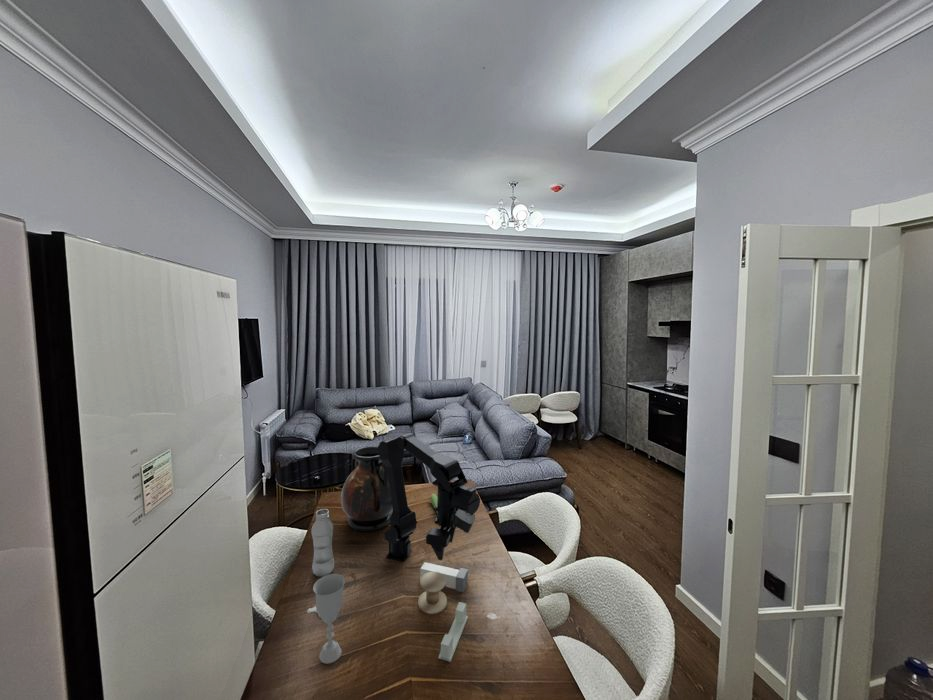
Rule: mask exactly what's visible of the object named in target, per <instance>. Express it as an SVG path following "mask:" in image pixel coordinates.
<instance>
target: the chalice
mask: <svg viewBox="0 0 933 700" xmlns="http://www.w3.org/2000/svg"><path fill="white" fill-rule="evenodd" d="M345 583H346V577H344V576H343V575H342V574H339V573H330V574H328V575H326V576H323V577H319V578H318V580H316V581H315V583H314V584H313V586H312V587H313V588H312V589H313V592H314V594H315V605H316V610H317V612H318V613H317V612H316V613H317V615H318V614H319V615H318V617H319V616H320V617H319V618H321V620H322V622H323V623H325V624H327V627H326V631H327V634H326V635H325V636H326V639H327V641H326V642H325V643H324V645H323V646H322V648H321V650H320V653H319V654H318V655H319V656H318V659H319V661H320V662H321V663H323V664H332V663H335V662H337V660H338V659H339V658H340V657H341V656H342V652H343V651H342V648H341V647H340V645H339V642H338V641H336V640H334V639H333V638H334V636H335V632H333V629H334V628H335V627H334V625H333V623H334V622H335V621H336V619H337V618H338V615H339V613H340V610H341V609H342V607H343V601H344V585H345Z"/></svg>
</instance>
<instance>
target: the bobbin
mask: <svg viewBox="0 0 933 700" xmlns="http://www.w3.org/2000/svg"><path fill="white" fill-rule="evenodd" d="M419 580H420V582H419V583H420V584H419V585H420V588H421V589H422V590H424V591H423V592H422V593H421V594H420V595H419V597H418V601H417V602H418V604H417V605H418V608H419V610H421V612H423V613H425V614H428V615H434V614H439V613H441V612H443V611H444V610H445V608H446V607H447V605H448V604H447V603H448V602H447V601H448V599H447V595H446V594H445V593H444V592H443V591H442V589H444V587H445V577H444V575H443V574H441V573H439V572H428V573H426V574H424V575H423V576H422V577H421V579H419Z"/></svg>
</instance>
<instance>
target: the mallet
mask: <svg viewBox="0 0 933 700" xmlns="http://www.w3.org/2000/svg"><path fill="white" fill-rule="evenodd" d="M428 572H439V573H441V574H443V575H444V577H445V586H444V587H445V588H449V589H452V590H455V591H456V592H461V593H464V592H465V589H466V587H467V586H468V583H469V569H468V568H463V567H460V568H459V569H457V568H452V567H447V566H444V565H439V564H435V563H430V562H427V561H426V562H424V561H423V564H422V566H421V567H420V573H419V574H420V577H419V578H420V579H421V577H422V576H423V575H424V574H426V573H428ZM420 579H419V580H420Z"/></svg>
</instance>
